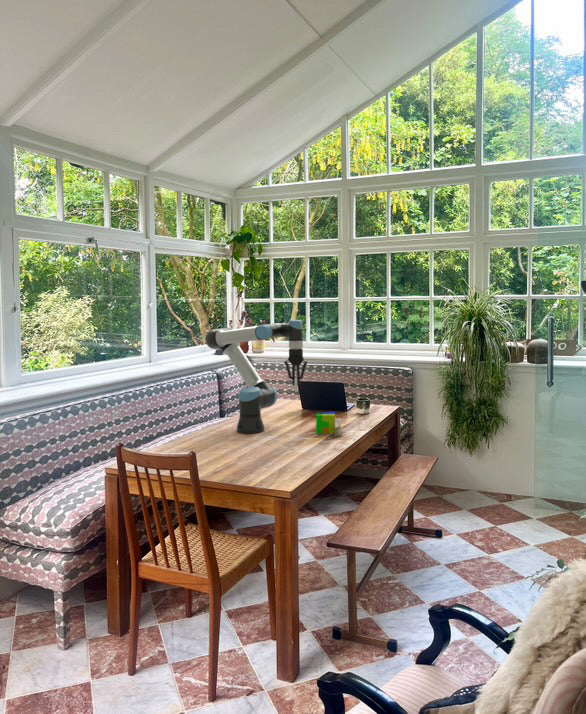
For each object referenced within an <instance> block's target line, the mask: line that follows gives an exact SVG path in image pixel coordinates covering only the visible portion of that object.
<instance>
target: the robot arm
mask: <svg viewBox="0 0 586 714" xmlns="http://www.w3.org/2000/svg"><path fill="white" fill-rule="evenodd" d="M303 329H304V328H303V321H302V320H301V319H289V320H288V323H287V322H286V323H282V322H281V323H279V322H274V323H269V324H267V323H266V324H260V325H255V326H254V325H253V326H247V327H241V328H235V329H234V328H233V327H222V328H213V329H210V330H209V331H208V332H207V333H206V335H205V338H204V340H205V344H206V345H207V347H208V348H210V349H212V350H221V352H222V354H223V355H226V356H228V358H229V359H230V361H231V363H232V364H233V366H234V367H235V369H236V370H237V372H238V373H239V375H240V377H241V378H242V379H243V381H244V383H245V384H246V386H247V387H244V388H242V389H240V390H239V392H238V400H239V401H238V405H239V409H238V410H239V418H238V422H237V424H236V432H237V433H241V434H259V433H262V432H264V431H265V425H264V422H263V418H262V415H261V414H262V413H261V411H262V409H266V408H270V407H271V406H274V405H275V404H276V402H277V400H278V391H277V389H276V388H275V387H274V386H272V385H269V384H268V382H267V381H266V380H265V379H262V377H260V375H259V374H258V372H257V371H256V369H255V368H254V366H253V365H252V363H251V362H250V360H249V358H248V357H247V356H246V354H245V353H244V351H243V349H242V348H241V343H247V342H253V341H259V340H267V339H275V338H288V358H287V359H286V360H285V361H284V365H285V367H286V371H287V374H288V378H289V379H290V380H292V386H294V392H295V393H298V391H299V388H298V386H300V384H301V383H300V382H301V381H300V380H301V379H303V378H304V376H305V370H306V365H307V364H308V361H307V360H305V358H304V356H303V355H304V349H303V347H304V343H303V342H304V341H303V338H304V337H303V336H304V335H303V333H304V331H303ZM301 364H303V366H302V369H301V370H300V367H301ZM290 365H291V367H290ZM290 368H291V369H292V371H291V369H290ZM300 371H301V373H300Z"/></svg>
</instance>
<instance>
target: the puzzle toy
mask: <svg viewBox="0 0 586 714" xmlns="http://www.w3.org/2000/svg"><path fill="white" fill-rule="evenodd" d="M315 414H316V415H315V416H316V417H315V419H316V422H315V423H316V425H315V426H316V428H315V431H316V434H319V435H320V434H321V435H323V434H327V435H328V434H329V435H331V434H333V435H335V418H336V411H316V413H315Z"/></svg>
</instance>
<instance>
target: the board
mask: <svg viewBox="0 0 586 714" xmlns="http://www.w3.org/2000/svg"><path fill="white" fill-rule="evenodd" d="M341 422H342V421H341V418H340V417H339V418H338V417H337V418H336V417H335V434H334V437H341V436H342V423H341Z"/></svg>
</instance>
